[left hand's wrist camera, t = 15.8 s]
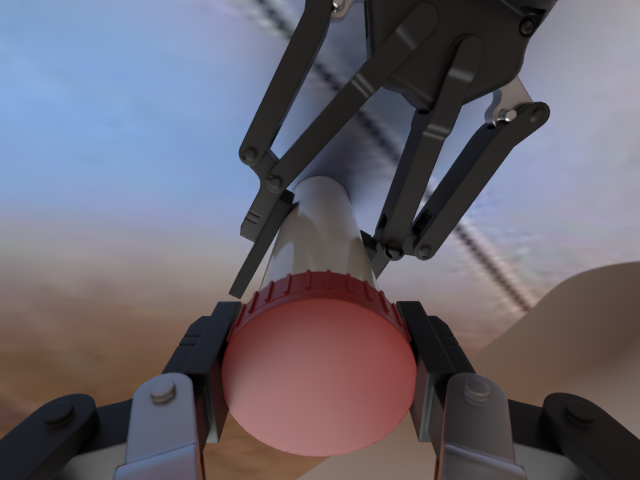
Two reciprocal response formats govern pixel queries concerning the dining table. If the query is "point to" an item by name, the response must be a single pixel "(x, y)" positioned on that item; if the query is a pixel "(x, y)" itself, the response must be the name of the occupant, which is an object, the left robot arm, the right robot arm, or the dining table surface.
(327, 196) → the jar
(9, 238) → the dining table surface
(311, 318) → the lid
